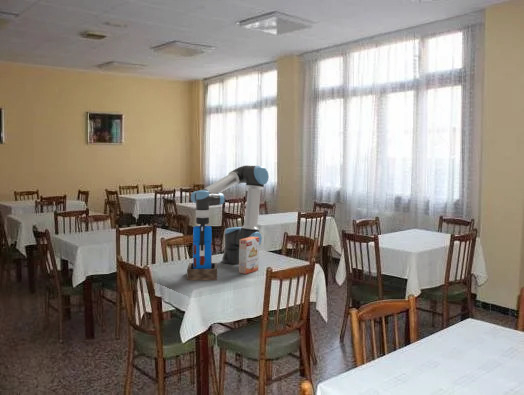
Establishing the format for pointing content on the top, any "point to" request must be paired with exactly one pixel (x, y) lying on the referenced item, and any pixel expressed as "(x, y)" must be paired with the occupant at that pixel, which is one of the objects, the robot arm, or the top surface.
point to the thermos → (206, 260)
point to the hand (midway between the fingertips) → (202, 253)
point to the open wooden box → (202, 273)
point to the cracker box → (248, 255)
